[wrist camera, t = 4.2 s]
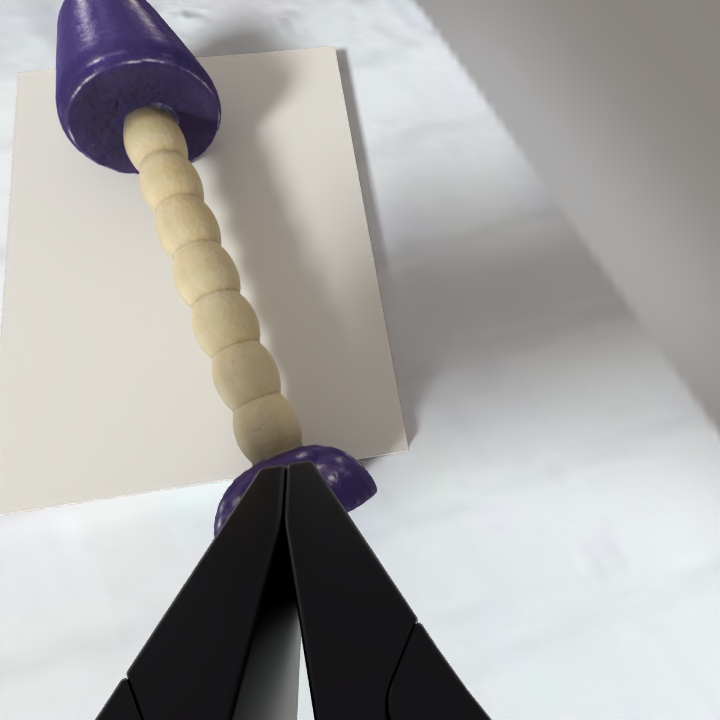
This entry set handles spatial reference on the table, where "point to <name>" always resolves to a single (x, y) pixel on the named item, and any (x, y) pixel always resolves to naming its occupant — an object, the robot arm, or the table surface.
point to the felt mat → (167, 309)
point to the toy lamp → (183, 215)
